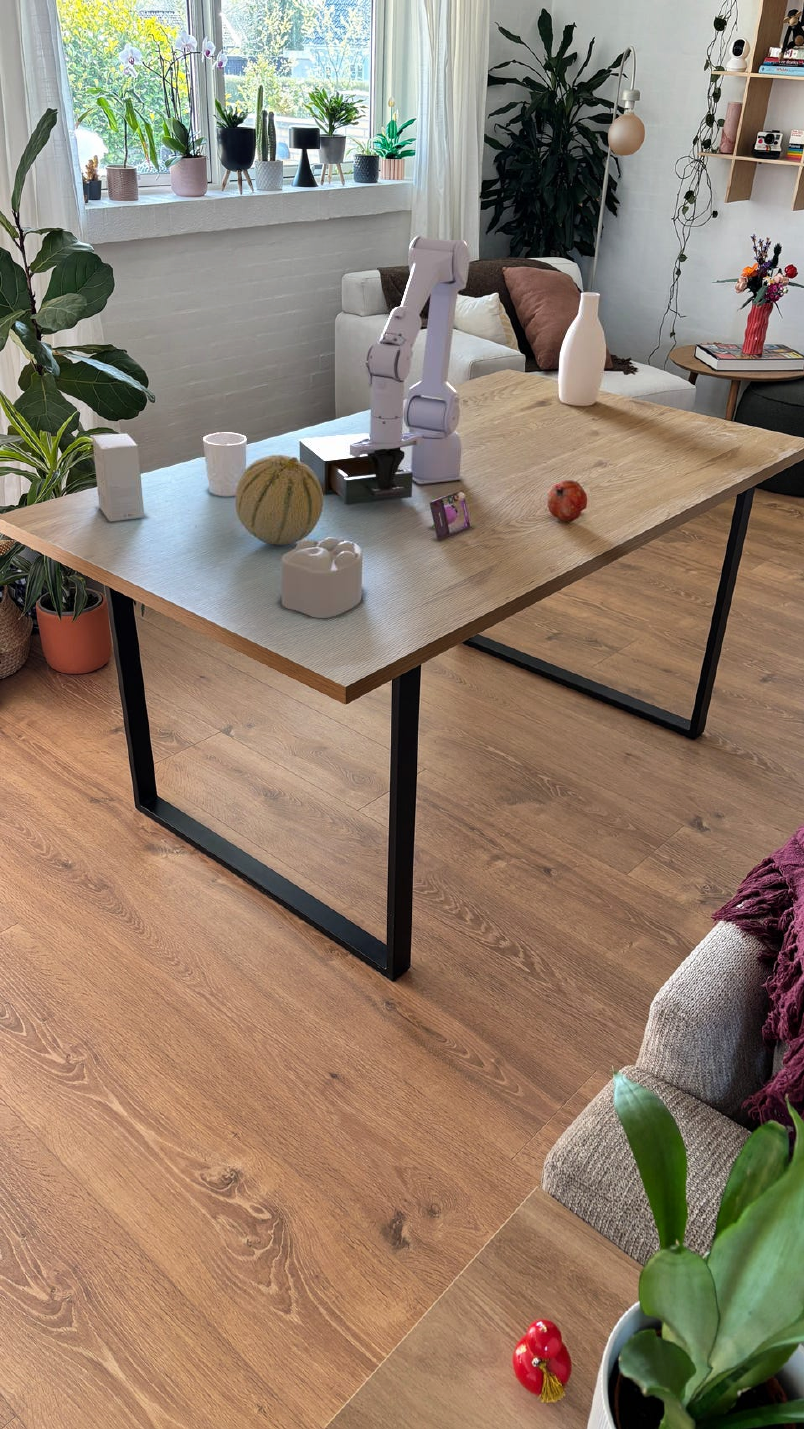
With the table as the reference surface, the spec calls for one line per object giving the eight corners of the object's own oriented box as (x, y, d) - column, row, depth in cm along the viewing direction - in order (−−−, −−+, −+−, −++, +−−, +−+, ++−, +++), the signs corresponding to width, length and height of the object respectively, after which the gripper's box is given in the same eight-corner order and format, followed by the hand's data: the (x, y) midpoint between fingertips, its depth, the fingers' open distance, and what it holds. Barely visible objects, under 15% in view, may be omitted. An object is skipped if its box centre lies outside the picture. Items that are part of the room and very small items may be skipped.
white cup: (240, 499, 202) (238, 447, 197) (200, 495, 203) (196, 442, 198) (253, 486, 208) (252, 434, 203) (214, 482, 210) (211, 430, 205)
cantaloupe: (243, 523, 192) (240, 439, 184) (326, 527, 192) (327, 443, 184) (229, 556, 179) (225, 467, 171) (318, 560, 179) (318, 471, 171)
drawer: (422, 505, 200) (424, 480, 198) (355, 514, 195) (356, 488, 193) (384, 476, 214) (385, 452, 211) (321, 483, 208) (320, 459, 206)
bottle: (554, 405, 267) (566, 296, 254) (556, 394, 276) (567, 288, 263) (599, 409, 265) (614, 299, 252) (600, 397, 275) (614, 291, 262)
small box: (145, 518, 192) (138, 445, 185) (109, 522, 190) (101, 449, 183) (133, 503, 198) (127, 432, 192) (98, 507, 196) (90, 435, 189)
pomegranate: (557, 520, 205) (528, 497, 198) (581, 488, 204) (553, 463, 196) (581, 537, 200) (553, 514, 193) (606, 505, 199) (579, 480, 192)
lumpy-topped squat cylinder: (272, 603, 164) (271, 549, 160) (324, 575, 174) (324, 524, 169) (327, 622, 159) (327, 567, 155) (377, 592, 169) (379, 540, 164)
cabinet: (394, 486, 212) (395, 453, 208) (324, 494, 206) (324, 460, 203) (366, 465, 222) (367, 433, 219) (299, 472, 217) (299, 439, 213)
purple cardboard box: (434, 501, 186) (466, 489, 192) (411, 504, 189) (443, 492, 195) (442, 540, 188) (473, 526, 194) (420, 541, 191) (451, 528, 197)
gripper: (406, 403, 198) (403, 476, 205) (339, 414, 190) (339, 489, 197) (430, 413, 193) (426, 487, 200) (362, 424, 185) (360, 501, 192)
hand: (384, 489), depth 198 cm, fingers closed
